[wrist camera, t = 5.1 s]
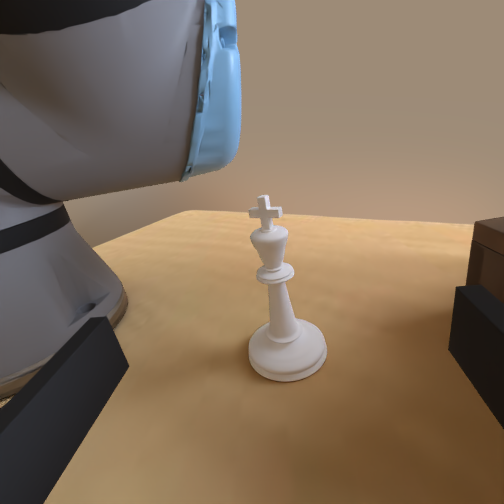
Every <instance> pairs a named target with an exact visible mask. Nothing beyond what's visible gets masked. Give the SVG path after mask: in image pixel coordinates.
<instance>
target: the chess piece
mask: <svg viewBox="0 0 504 504" xmlns="http://www.w3.org/2000/svg"><path fill="white" fill-rule="evenodd" d="M257 201H258V207H253V208H251V209H249V216H250V218H260V219H261V225H262V227H261V228H259V229H257V230H255V231H254V232H253V233H252V234H251V236H250V239H251V242H252V244H253V246H254V247H255V249H256V250H257V252H258V254H259V256H260V258H261V260H262V262H263V263H264V266H262V267H260V268H259V269H258V271H257V275H256V278H257V280H258V281H259V282H261V283H263V284H268V290H269V313H270V322H268V323H266V324H264V325H263V326H261V327H260V328H259V329H258V330H257V331H256V332H255V333H254V334H253V335H252V337H251V339H250V341H249V347H248V350H249V361H250V363H251V365H252V367H253V368H254V370H255V371H256V372H258V373H259V374H260V375H262V376H263V377H266V378H268V379H271V380H275V381H283V382H288V381H296V380H300V379H303V378H306V377H308V376H310V375H312V374H313V373H315V372H316V371H317V370H318V369H319V368H320V367H321V366H322V365H323V363H324V361H325V359H326V356H327V346H326V343H325V338H324V336H323V334H322V332H321V331H320V330H319V329H318V328H317V327H316V326H315V325H314V324H312V323H310V322H308V321H305V320H302V319H297V318H295V316H294V313H293V309H292V306H291V303H290V299H289V296H288V292H287V287H286V284H285V282H286V281H288V280H290V279H291V278H292V277H293V276H294V270H293V267H292V266H291V265H290V264H288V263H284V262H283V258H284V254H285V247H286V243H287V239H288V231H287V229H286V228H284V227H282V226H277V225H273V222H272V218H280V217H281V216H282V215H283V214H282V207H270V202H269V195H261V196H259V197H257Z"/></svg>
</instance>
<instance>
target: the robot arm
mask: <svg viewBox="0 0 504 504" xmlns="http://www.w3.org/2000/svg"><path fill="white" fill-rule="evenodd" d="M236 43H237V29H236V7H235V0H0V399H2V398H5V397H8V396H10V395H12V394H15V393H17V392H18V393H17V394H16V395H15V396H14V397H13V398H12V399H11V400H10V401H9V402H8V403H7V404H5V405H4V406H3V407H1V408H0V504H43V503H44V502H45V500H46V499H47V497H48V495H49V494H50V492H51V491H52V489H53V487H54V486H55V484H56V483H57V481H58V479H59V478H60V476H61V475H62V473H63V471H64V470H65V468H66V467H67V465H68V463H69V462H70V460H71V459H72V457H73V455H74V454H75V452H76V451H77V449H78V448H79V446H80V444H81V443H82V441H83V440H84V438H85V436H86V435H87V433H88V432H89V430H90V428H91V427H92V425H93V424H94V422H95V420H96V419H97V417H98V416H99V414H100V412H101V411H102V409H103V408H104V406H105V404H106V403H107V401H108V400H109V398H110V396H111V395H112V393H113V392H114V390H115V388H116V387H117V385H118V384H119V382H120V380H121V379H122V377H123V376H124V374H125V373H126V371H127V369H128V368H129V364H128V362H127V360H126V358H125V355H124V353H123V351H122V349H121V346H120V344H119V342H118V340H117V337H116V335H115V333H114V331H113V329H114V328H115V327H116V326H117V324H118V323H119V322H120V320H121V319H122V317H123V316H124V314H125V312H126V309H127V305H128V298H127V295H126V292H125V290H124V287H123V285H122V283H121V281H120V280H119V278H118V277H117V275H116V274H115V273H114V272H113V271H112V270H111V269H110V267H109V266H108V265H107V264H106V263H105V262H104V261H103V260H102V259H101V258H100V257H99V255H98V254H97V253H96V252H95V251H94V250H93V249H92V248H91V247H90V246H89V245H88V243H87V242H86V241H85V240H84V239H83V238H82V237H81V236H80V235H79V233H78V232H77V231H76V230H75V228H74V226H73V224H72V222H71V220H70V218H69V216H68V213H67V211H66V209H65V206H64V204H63V201H68V200H72V199H78V198H84V197H89V196H95V195H101V194H107V193H112V192H118V191H123V190H129V189H135V188H140V187H146V186H152V185H158V184H163V183H169V182H175V181H179V182H183V181H186V180H188V178H189V177H192V176H196V175H200V174H204V173H208V172H212V171H217V170H220V169H221V168H223V167H225V166H226V165H227V164H228V163H230V162H231V161H232V160H233V158H234V157H235V155H236V152H237V149H238V145H239V139H240V128H241V71H240V56H239V51H238V48H237V45H236ZM448 350H449V351H450V353H451V354H452V356H453V357H454V358H455V360H456V361H457V363H458V364H459V366H460V367H461V369H462V370H463V371H464V373H465V374H466V376H467V377H468V379H469V380H470V381H471V383H472V384H473V386H474V387H475V389H476V390H477V392H478V393H479V394H480V396H481V397H482V399H483V400H484V402H485V403H486V404H487V406H488V407H489V409H490V410H491V412H492V413H493V415H494V416H495V417H496V419H497V420H498V422H499V423H500V425H501V426H502V428H503V429H504V304H503V303H502V302H501V301H500V300H499V299H497V298H496V297H495V296H494V295H493V294H492V293H490V292H489V291H488V290H487V289H486V288H485V287H483V286H482V285H470V286H458V287H456V291H455V299H454V307H453V315H452V324H451V332H450V340H449V348H448Z"/></svg>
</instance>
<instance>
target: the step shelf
mask: <svg viewBox="0 0 504 504" xmlns="http://www.w3.org/2000/svg"><path fill="white" fill-rule="evenodd" d="M472 239H473V240H472V243H471V250H470V257H469V264H468V272H467V279H466V286H470V285H482V286H483V287H485V288H486V289H487V290H488V291H489V292H490V293H492V294H493V295H494V296H495V297H496V298H497V299H499V300H500V301H501V302H502V303H503V304H504V217H500V218H493V219H488V220H481V221H476V222H475V224H474V231H473V238H472Z"/></svg>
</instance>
